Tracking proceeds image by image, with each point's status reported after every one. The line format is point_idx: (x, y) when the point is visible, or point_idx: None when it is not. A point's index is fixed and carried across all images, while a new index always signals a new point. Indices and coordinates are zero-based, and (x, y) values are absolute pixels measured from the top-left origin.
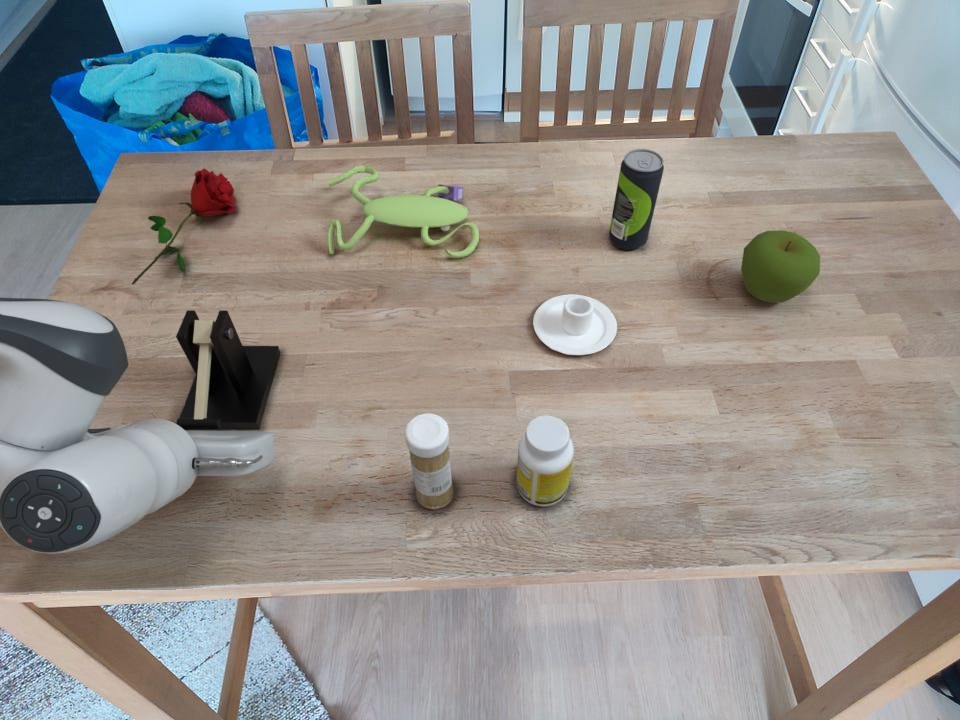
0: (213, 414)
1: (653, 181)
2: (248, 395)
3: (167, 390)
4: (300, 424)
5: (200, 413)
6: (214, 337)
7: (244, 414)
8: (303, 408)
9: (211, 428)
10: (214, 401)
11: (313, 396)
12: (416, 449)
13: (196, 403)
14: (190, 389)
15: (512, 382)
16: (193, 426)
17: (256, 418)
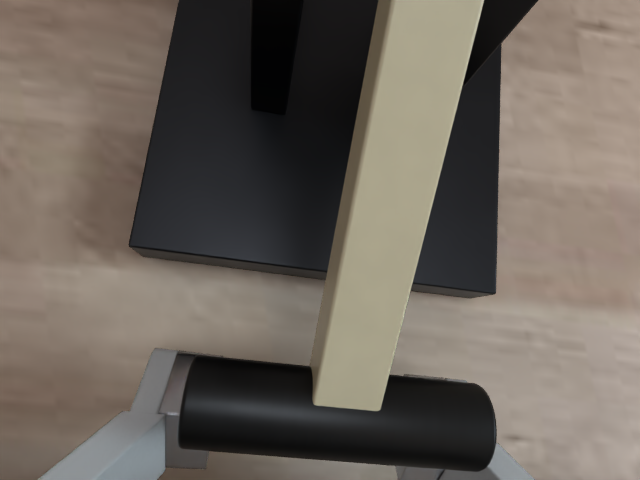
0: (298, 223)
1: None
2: None
3: (49, 40)
4: (617, 292)
5: (369, 371)
6: None
7: (438, 242)
8: (612, 218)
9: (431, 468)
10: (291, 150)
11: (634, 168)
12: None
13: (347, 296)
14: (167, 64)
15: None
16: (311, 457)
17: (493, 271)
